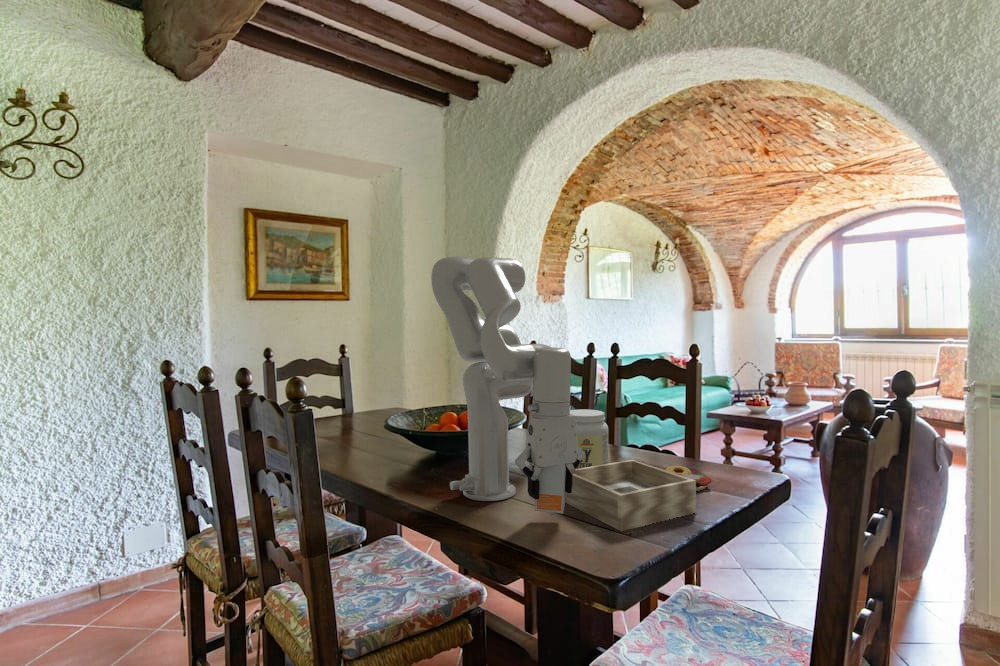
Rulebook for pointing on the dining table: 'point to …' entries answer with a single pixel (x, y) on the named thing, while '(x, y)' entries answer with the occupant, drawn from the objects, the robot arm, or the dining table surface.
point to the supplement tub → (591, 437)
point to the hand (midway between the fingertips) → (550, 493)
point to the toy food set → (691, 476)
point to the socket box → (631, 494)
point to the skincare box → (552, 488)
